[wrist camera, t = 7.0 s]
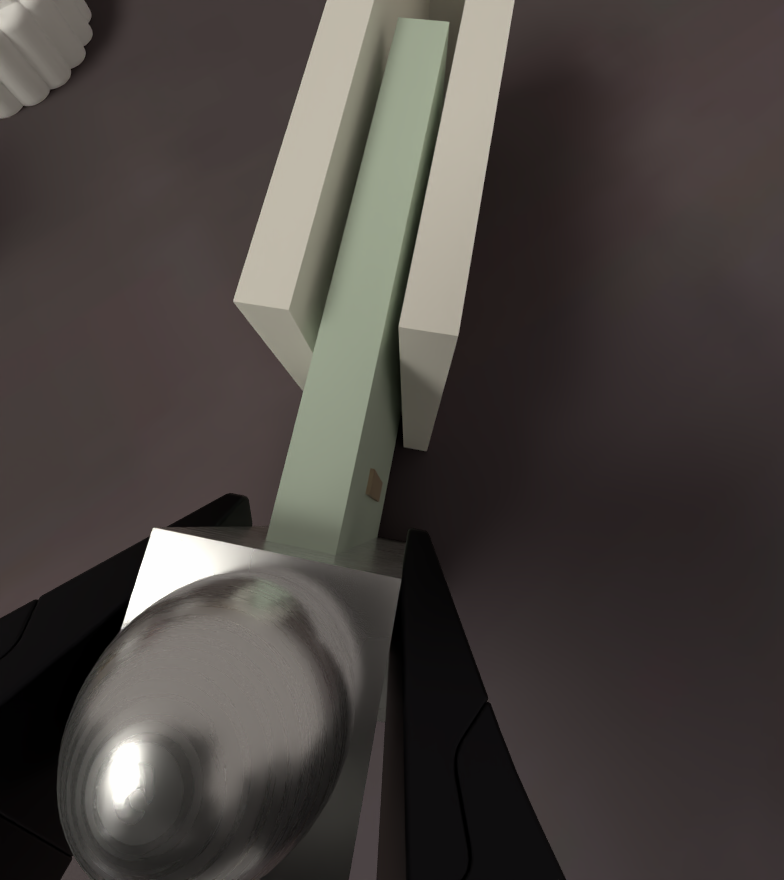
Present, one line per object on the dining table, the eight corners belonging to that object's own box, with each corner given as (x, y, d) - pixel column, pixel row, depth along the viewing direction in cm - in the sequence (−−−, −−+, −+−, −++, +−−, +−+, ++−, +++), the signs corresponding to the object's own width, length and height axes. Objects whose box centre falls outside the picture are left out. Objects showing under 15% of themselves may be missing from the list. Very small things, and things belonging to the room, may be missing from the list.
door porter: (396, 704, 14) (337, 1819, 2) (268, 673, 14) (-451, 1446, 2) (423, 545, 15) (487, 628, 3) (303, 521, 16) (-49, 513, 4)
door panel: (379, 537, 15) (341, 555, 6) (345, 530, 15) (260, 538, 6) (429, 274, 17) (453, 22, 9) (400, 270, 18) (394, 17, 9)
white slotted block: (426, 451, 16) (458, 335, 6) (337, 435, 16) (232, 301, 6) (482, 133, 19) (557, -259, 10) (407, 125, 20) (409, -263, 10)
